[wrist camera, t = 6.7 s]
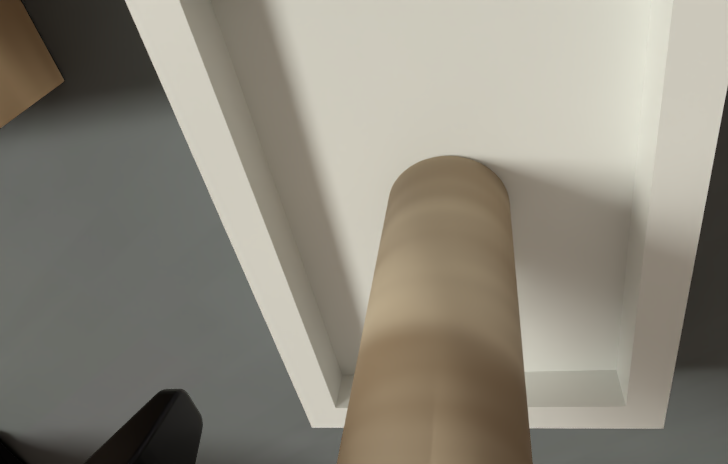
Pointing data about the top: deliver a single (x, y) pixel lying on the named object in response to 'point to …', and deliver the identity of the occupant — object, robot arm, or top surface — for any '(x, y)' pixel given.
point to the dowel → (441, 328)
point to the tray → (469, 140)
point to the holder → (22, 62)
